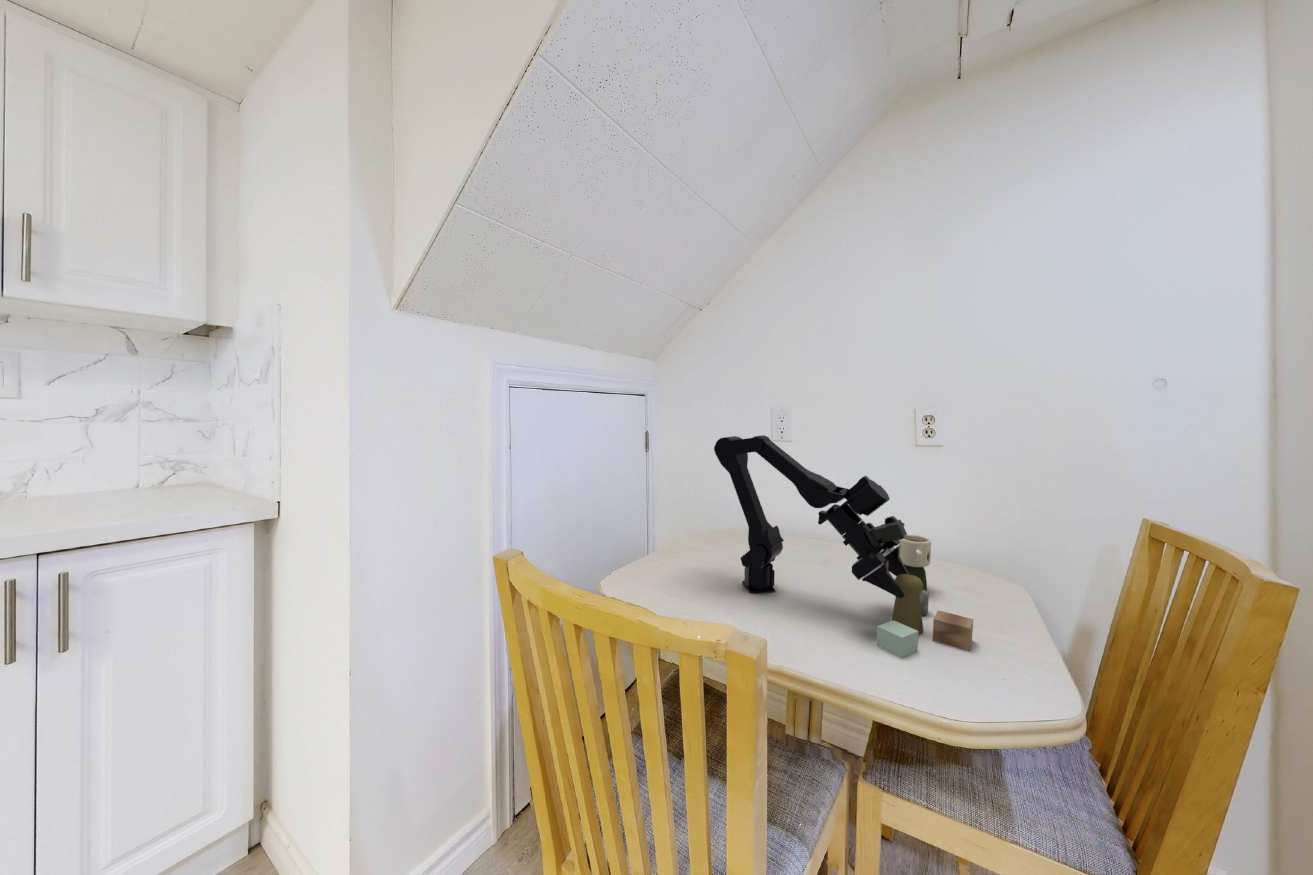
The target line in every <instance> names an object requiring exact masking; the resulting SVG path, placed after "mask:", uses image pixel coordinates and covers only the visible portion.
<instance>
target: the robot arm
mask: <svg viewBox="0 0 1313 875" xmlns="http://www.w3.org/2000/svg"><path fill="white" fill-rule="evenodd" d="M713 451H714V454H715V456H716V458H717V460H718V462H719V463H720V465H721V466H722V467H723V468H724V469H725V470H726V472H727V473H728V474H729V477H730V479H731V482H732V484H733V488H734V490H735V494H736V496H737V499H738V501H739V502H738V503H739V505H740V507H741V510H742V512H743V516H744V518H745V520H746V523H747V526H748V532H747V533H748V536H747V542H748V548H749V550H748V551H747V552H746V553H744V554H743V555H742V556H740V562H741V565H742V567H744V577H743V578H744V579H743V580H742V581H741V583H742V585H743V586H744V587H745V588H746V590H747V591H748V593H750V594H755V593H756V594H757V593H770V592H772V593H774V592H776V589H775V570H774V569H773V567H774V564H773V563H772V562H774V561H775V560H776V557H778V556H779V555H781V553H782V551H783V548H784V546H783V542H784V541H785V540H784V538H782V535H781V532H780V528H779V526H778V525H775V526H773V525H772V524H770V522H768V519H767V518H766V515H765V512H764V509H763V506H762V504H761V501H760V499H759V496H758V492H757V491H756V488H755V485H754V483H753V479H752V476H751V474H750V471H749V469H748V462H749V461H748V460H749V453H757V455H759V456H760V457H761V458H762V459H764V461H766V462H767V463H768V464H770V465H771V466H772V467H773V468H774V469H776V470H777V471H778V472H779V473H781V475H783V476H784V477H785V478H786V479H788V480H789V481H790V483H792V484H793V486H795V488H796V490H797V492H798V493H799V495H800V496H801V498H803V499H804V501H805V502H806V503H807V504H808V505H809V506H810V507H812V508H814V509H823V508H826V507H827V506H829V505H831V504H833V505H831V506H830V507H828V509H827V510H820V511H818V520H817V524H818V525H822V524H824V523H825V522H827V521H828V523H829V524H830V525H831V526H832V527H833V528H834V529H835V531H836V532H838V534H839V535H840V537H842V539H844V540H843V541H842V544H844V546H848V545H849V547H850V548H852V550H853V551H854V552H855V553H856V554H857V556H856V560H857V561H855V562H854V563H853V564H852V566H851V573H852V575H853V576H854V577H855V578H856V580H858V581H859V580H861V581H863V582H867V583H869V584H871V585H872V586H876V588H880V589H881V590H883V591H885V592H887V593H889V594H891V595H893V596H894V597H895V598H896V597H898V598H903V597H904V596H905V595H904V593H903V591H902V590H901V588H900V587H899V585H898V584H897V583H896V581H895V578H894V577H893V576H892V575H894V576H895V577H897V576H898V575H900V574H909V573H908V571H907V569H906V568H905V566H904V564H903V562H902V560H901V558H900V548H901V546H900V545H899V546H898V544H899V543H900V541H899V540H901V539H903V538H905V535H908V532H907V531H906V529H905V523H904V522H902V520H901V519H897V517H895V516H894V515H892V516H887V517H886V518H885V519H884V524H883V523H882V524H880V525H877V526H875V525H873V523H872V522H867V523H866V522H865V521H864V520H863V519H862V518H861V516H862V515H864V516H866V517H869V516H871V514H873V513H874V512H876V511H877V510H878V509H879V508H881V507H882V506H883V505H885V504H886V503H887V502H889V501H890V499H891V498H890V496H889V494H888V492H887V491H886V490H885V488H884V487H882V485H881V484H878V483H877V482H875V481H874V480H873V479H870V478H869V476H868V475H864V476H862V477H860V479H859V480H858V481H857V482H856V484H854V485H853V486H852V487H850V488H846V487H842V486H837V485H836V484H835V483H834V482H833V481H832V480H830V479H828V478H826V477H824V476H822V475H821V474H819V473H816V472H814V471H812V470H811V471H810V470H809V469H808V468H806V467H804V466H803V465H802V464H801V463H800V462H798V461H797V460H796V459H794V458H793V457H792V456H791V455H789V454H788V453H787V452H786V451H784V449H782V448H781V447H779V445H777V444H776V443H775V442H773V441H772V440H771V439H770V438H769V437H768V436H767V435H765V434H763V435H761V434H760V435H755V436H753V437H748V438H742V437H739V436H736V435H735V436H734V435H733V436H732V435H731V436H725V437H720V438H718V439H717V440H716V442H715V445H714V447H713ZM842 500H845V501H844V502H843V503H842V504H841V505H839V504H837V503H840V502H841V501H842Z"/></svg>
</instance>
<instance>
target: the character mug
mask: <svg viewBox="0 0 1313 875" xmlns="http://www.w3.org/2000/svg"><path fill="white" fill-rule="evenodd" d="M899 541H900V543H899V544H898V545H897V547H898V546H899V545H900V546H901V548H900V558H901V560H902V562H903V564H904V566H905V568H906V569H907V571H908V573H909V575H913V576H916V577H918V578H919V579H921V581H922V583H923V590H925V591H927V590H928V581H927V575H926V574H927V572H926V569H925V567H928V566H930V564H931V553H932V552H931V550H932V539H930V538H929V537H925V536H921V535H918V534H917V535H916V534H907V535H905V538H903V539H901V540H899Z"/></svg>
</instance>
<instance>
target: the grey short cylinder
mask: <svg viewBox="0 0 1313 875" xmlns="http://www.w3.org/2000/svg"><path fill="white" fill-rule="evenodd" d="M929 595H930V593H929V592H928V591H927V590H926V591H925V590H922V593H920V602H921V612H922V617H926V616H928V615H929V600H930V599H929V597H930V596H929ZM927 614H928V615H927Z"/></svg>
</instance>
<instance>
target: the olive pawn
mask: <svg viewBox="0 0 1313 875" xmlns="http://www.w3.org/2000/svg"><path fill="white" fill-rule="evenodd" d="M894 580H895V581H896V583H897V584H898V585H899V587H900V588H901V590H902V591H903V593H904V595H905V596H904V597H903V598H898V597H896V596H895V597H894V598H895V599H894V604H893V608H892V609H893V610H892V613H891V618H890V621H892V620H894V621H896V622H899V623H901V624H903V625H906V626H908V627H910V628H912V629H915V630H917V631H918V636H920V635H923V634H924V624H923V616H922V612H921V602H920V593H922V590H923V583H922V581H921V579H919V578H918V577H916V576H913V575H909V574H900V575H898V576H895V578H894Z"/></svg>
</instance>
